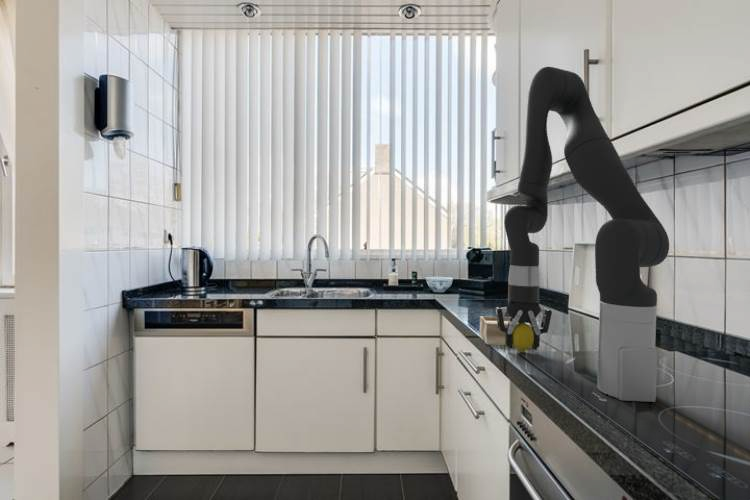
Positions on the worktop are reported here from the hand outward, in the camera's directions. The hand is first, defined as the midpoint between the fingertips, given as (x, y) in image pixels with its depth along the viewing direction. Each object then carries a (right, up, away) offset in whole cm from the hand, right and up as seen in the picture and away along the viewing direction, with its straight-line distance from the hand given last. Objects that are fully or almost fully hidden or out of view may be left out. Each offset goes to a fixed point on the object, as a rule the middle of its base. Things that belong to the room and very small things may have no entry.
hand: (522, 348), depth 104 cm
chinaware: (-2, +2, +122) cm, 122 cm away
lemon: (0, -1, 0) cm, 1 cm away
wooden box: (-1, -1, +13) cm, 13 cm away
